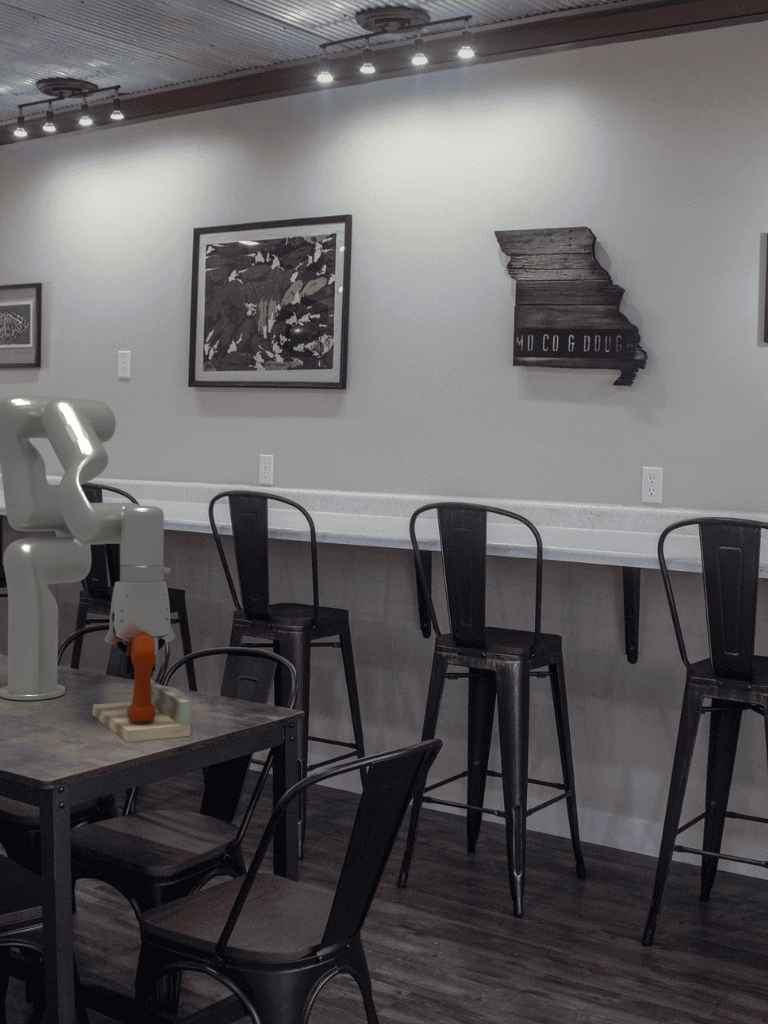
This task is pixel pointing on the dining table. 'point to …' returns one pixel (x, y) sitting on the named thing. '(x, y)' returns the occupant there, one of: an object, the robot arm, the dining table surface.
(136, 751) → the dining table surface
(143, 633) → the toy drill
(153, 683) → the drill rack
